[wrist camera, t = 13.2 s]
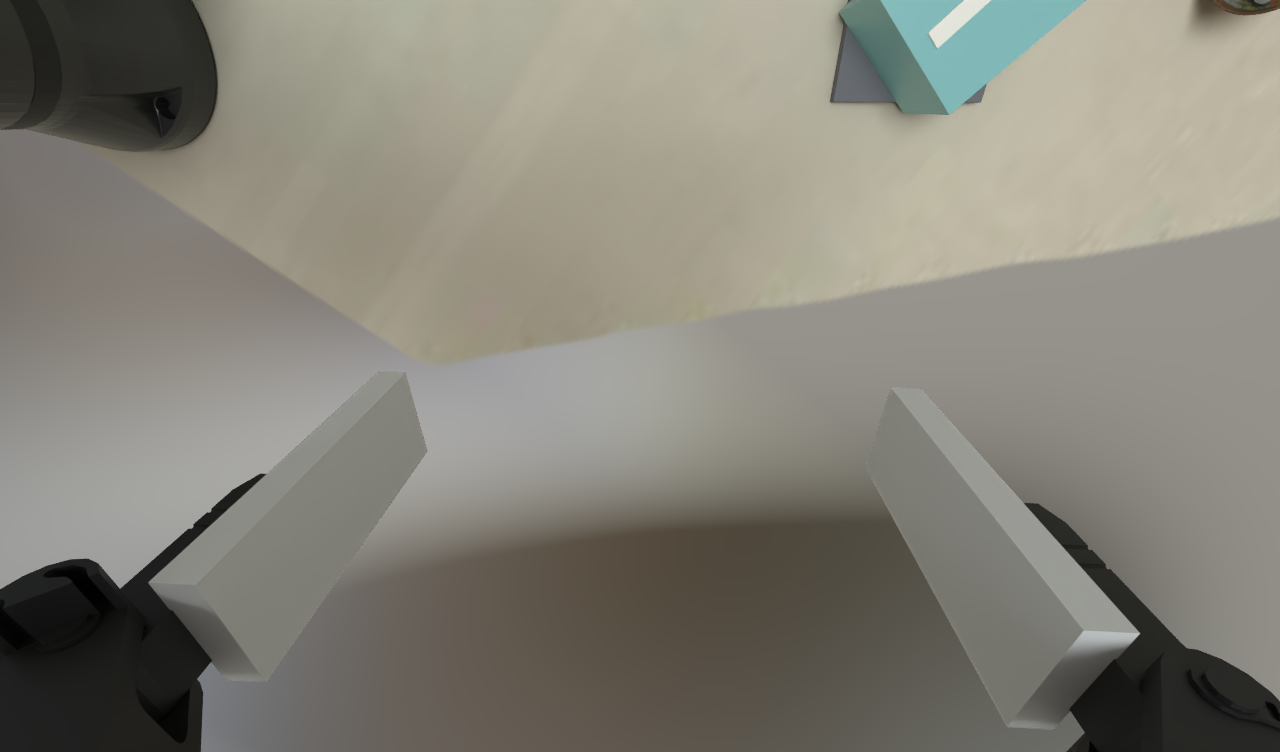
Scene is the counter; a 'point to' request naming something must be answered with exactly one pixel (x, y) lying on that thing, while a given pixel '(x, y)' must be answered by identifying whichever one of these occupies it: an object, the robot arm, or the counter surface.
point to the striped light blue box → (947, 44)
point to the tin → (1248, 6)
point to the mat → (863, 76)
